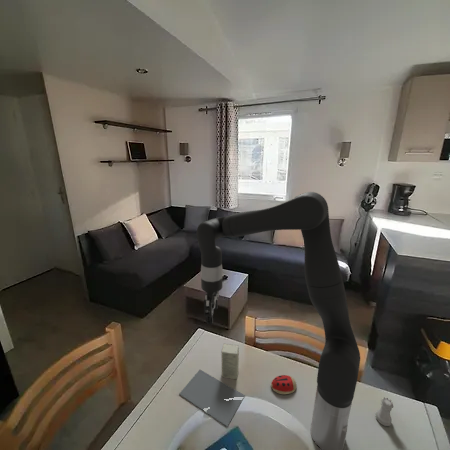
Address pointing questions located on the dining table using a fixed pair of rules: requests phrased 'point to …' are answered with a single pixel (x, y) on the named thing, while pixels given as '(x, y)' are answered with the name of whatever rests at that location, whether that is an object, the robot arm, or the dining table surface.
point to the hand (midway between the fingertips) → (212, 315)
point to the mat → (212, 396)
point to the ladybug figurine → (284, 384)
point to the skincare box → (230, 361)
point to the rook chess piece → (384, 412)
